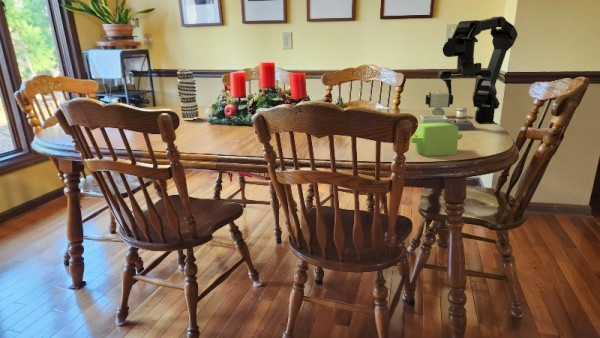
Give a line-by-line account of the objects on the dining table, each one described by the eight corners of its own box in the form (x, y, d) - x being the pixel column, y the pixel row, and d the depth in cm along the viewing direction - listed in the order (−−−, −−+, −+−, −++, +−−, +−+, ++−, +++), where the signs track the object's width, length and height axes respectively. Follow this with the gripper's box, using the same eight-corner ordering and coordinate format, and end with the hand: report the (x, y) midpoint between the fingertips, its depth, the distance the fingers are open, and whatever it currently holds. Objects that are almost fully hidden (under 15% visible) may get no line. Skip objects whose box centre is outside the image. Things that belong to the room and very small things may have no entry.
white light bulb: (464, 127, 167) (465, 107, 165) (466, 129, 164) (467, 109, 161) (454, 127, 168) (455, 107, 165) (456, 129, 164) (457, 109, 162)
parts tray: (444, 120, 180) (444, 114, 179) (447, 125, 172) (448, 119, 171) (420, 121, 182) (420, 115, 181) (422, 125, 173) (422, 119, 172)
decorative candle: (203, 118, 211) (197, 68, 203) (187, 121, 205) (181, 70, 197) (193, 116, 217) (187, 68, 210) (178, 119, 211) (171, 69, 203)
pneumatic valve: (424, 115, 193) (426, 89, 189) (451, 115, 190) (452, 89, 186) (425, 117, 188) (426, 91, 184) (452, 118, 185) (454, 91, 181)
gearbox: (454, 147, 141) (456, 120, 139) (469, 153, 132) (472, 124, 129) (404, 150, 139) (405, 122, 137) (416, 157, 130) (417, 127, 127)
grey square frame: (468, 125, 169) (468, 119, 168) (472, 130, 162) (473, 123, 161) (448, 126, 170) (448, 120, 169) (452, 130, 163) (452, 124, 162)
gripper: (443, 57, 151) (441, 100, 156) (497, 55, 148) (493, 98, 153) (439, 55, 161) (436, 95, 166) (489, 53, 158) (485, 94, 163)
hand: (462, 96), depth 162 cm, fingers open, 9 cm apart
